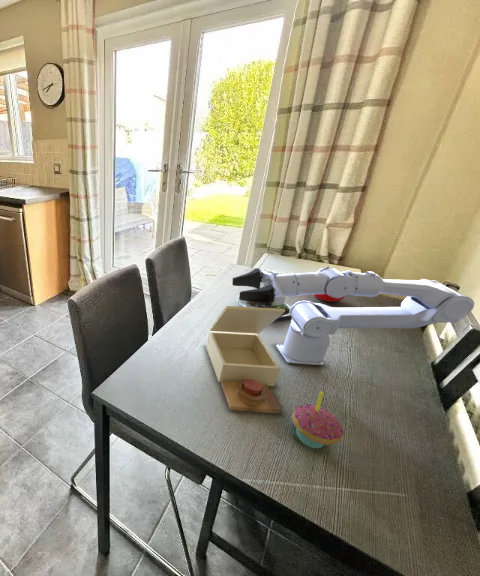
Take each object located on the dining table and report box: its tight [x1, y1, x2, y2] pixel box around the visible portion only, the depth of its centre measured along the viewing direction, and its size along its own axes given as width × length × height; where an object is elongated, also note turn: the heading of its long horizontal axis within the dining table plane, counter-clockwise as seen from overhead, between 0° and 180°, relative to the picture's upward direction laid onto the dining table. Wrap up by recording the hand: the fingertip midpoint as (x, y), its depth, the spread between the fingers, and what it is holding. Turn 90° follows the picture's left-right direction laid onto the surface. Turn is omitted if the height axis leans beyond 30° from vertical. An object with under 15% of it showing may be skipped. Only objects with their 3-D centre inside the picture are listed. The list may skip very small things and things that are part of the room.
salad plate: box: [236, 290, 292, 322], centre depth 111 cm, size 19×18×5 cm
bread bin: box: [205, 330, 281, 387], centre depth 82 cm, size 15×14×6 cm
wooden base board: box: [220, 379, 282, 414], centre depth 73 cm, size 11×8×3 cm
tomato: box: [313, 293, 346, 302], centre depth 115 cm, size 11×13×10 cm
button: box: [243, 379, 261, 396], centre depth 72 cm, size 4×4×2 cm
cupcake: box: [291, 387, 345, 449], centre depth 61 cm, size 9×8×12 cm
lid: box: [209, 305, 285, 335], centre depth 81 cm, size 16×14×1 cm
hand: (236, 288), depth 81 cm, fingers open, 7 cm apart
